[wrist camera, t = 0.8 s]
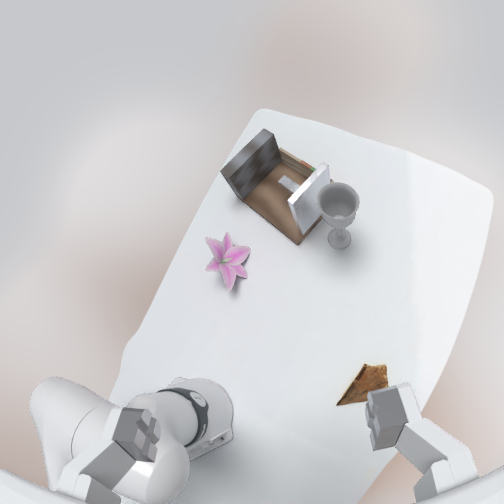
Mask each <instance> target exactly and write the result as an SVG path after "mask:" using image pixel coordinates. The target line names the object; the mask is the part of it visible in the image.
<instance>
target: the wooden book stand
mask: <svg viewBox="0 0 504 504" xmlns="http://www.w3.org/2000/svg"><path fill="white" fill-rule="evenodd" d="M315 170H316V169H315V168H313V167H312V166H310V165H309V164H307V163H306V162H304V161H302V160H300V159H298V158H296V157H295V156H293V155H292V154H290V153H288V152H287V151H285V150H283V149H282V148H278V145H277V142H276V139H275V137H274V134H273V133H271V132H269V131H268V130H266V129H263V130H262V131H261V132H260V133H259V134H257V135H256V136H255V137H254V138H253V139H252V140H251V141H250V142H249V143H248V144H247V145H246V146H245V147H244V148H243V149H242V150H241V151H240V152H239V153H238V154H237V155H236V156H235V157H234V158H233V159H232V160H231V161H230V162H229V163H228V164H227V165H226V166H225V167H224V168H223V169H222V170H221V171H220V172H221V173H222V175H223V176H224V178H225V179H226V181H227V182H228V184H229V185H230V187H231V188H232V190H233V191H234V193H235V194H236V196H237V197H238V198H239V199H241V200H242V201H243V202H245V203H246V204H247V205H248V206H250V207H251V208H252V209H253V210H255V211H256V212H257V213H258V214H260V215H261V216H262V217H263V218H265V219H266V220H267V221H269V222H270V223H271V224H272V225H274V226H275V227H276V228H277V229H278V230H280V231H281V232H282V233H283V234H285V235H286V236H287V237H288V238H290V239H291V240H292V241H293V242H295V243H296V244H297V245H299V244H300V243H301V242H302V240H303V239H304V238H305V237H306V236H307V235H308V234H309V233H310V232H311V230H312V229H313V228H314V227H315V226H316V225H317V224H318V223H319V221H320V220H321V219H322V218H323V217H322V215H321V216H320V217H319V218H318V219H317V220H316V221H315V223H314V224H313V225H312V226H311V227H310V228H309V229H308V230H307V232H306V233H305V234H304V235H302V234H301V233H299V231H298V228H297V226H296V223H295V220H294V217H293V214H292V212H291V209H290V206H289V203H288V201H287V200H288V199H289V198H290V197H291V196H292V195H291V194H290V193H288V192H287V191H286V190H284V189H283V188H281V187H280V186H279V183H278V181H279V180H280V179H281V178H282V177H283V176H284V175H285V176H287V177H288V178H289V179H291V180H292V181H294V182H295V183H297V184H298V185H300V186H301V185H302V184H303V183H304V182H305V181H306V180H307V179H308V178H309V177H310V176H311V174H312V173H313V172H314V171H315ZM330 183H335V182H333V180H332V179H330Z"/></svg>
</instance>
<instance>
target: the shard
mask: <svg viewBox="0 0 504 504" xmlns="http://www.w3.org/2000/svg"><path fill="white" fill-rule="evenodd" d="M387 387H388V380H387V367H386V365H379V366H370V365H367V364H364V366H363V368H362V369H361V371H360V372H359V373H358V375H357V377H356V378H355V379H354V381H353V382H352V384H351V385H350V386H349V388H348V389H347V390H346V392H345V393H344V395H343V396H342V398H341V400H340V401H339V402H338V403H337V405H343V404H348V403H353V402H362V401H368V398H367V395H368V392H370V391H374V390H378V389H382V388H387Z"/></svg>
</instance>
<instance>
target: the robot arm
mask: <svg viewBox="0 0 504 504" xmlns="http://www.w3.org/2000/svg"><path fill="white" fill-rule="evenodd" d="M367 398H368V402H367V403H366V408H365V413H366V421H367V426H368V427H369V428H371V433H370V439H371V444H372V448H373V451H375V450H380V449H384V448H389V447H393V446H395V448H396V449H397V450H398V451H399V452H400V453H401V454H403V455H404V456H405V457H406V458H407V459H408V460H409V461H410V462H411V463H412V464H413V465H414V466H415V467H416V468H417V469H418V470H419V471H420V472H422V473H423V474H424V475H423V476H422V478H421V479H420V480H419V481H418V482H417V484H416V485H415V486H414V493H415V497H416V502H417V503H413V504H504V466H502V467H500V468H498V469H496V470H494V471H492V472H490V473H488V474H486V475H484V476H482V477H480V478H479V475H478V472H477V469H476V466H475V463H474V460H473V457H472V454H471V451H470V449H469V448H468V447H467V446H465V445H464V444H463V443H461V442H460V441H458V440H457V439H456V438H454V437H453V436H451V435H450V434H449V433H447V432H446V431H444V430H443V429H441V428H440V427H439V426H437V425H436V424H435V423H433V422H432V421H430V420H429V419H428V418H422V415H421V412H420V409H419V406H418V404H417V401H416V398H415V396H414V393H413V390H412V388H411V385H410V384H409V383H403V384H400V385H396V386H391V387H387V388H382V389H378V390H374V391H370V392H368V395H367ZM29 409H30V414H31V418H32V420H33V422H34V425H35V427H36V430H37V433H38V436H39V440H40V444H41V448H42V453H43V458H44V463H45V468H46V473H47V480H48V489H47V488H45V487H42V486H40V485H37V484H35V483H33V482H31V481H29V480H27V479H24V478H22V477H20V476H18V475H16V474H14V473H12V472H10V471H8V470H5V469H0V504H120V503H121V498H120V496H119V495H117V494H116V493H118V494H120V495H122V496H125V497H127V498H129V499H132V500H134V501H137V502H140V503H143V504H166V503H168V502H170V501H172V500H173V499H175V498H176V497H177V496H178V495H179V494H180V493H181V492H182V491H183V490H184V488H185V486H186V485H187V482H188V480H189V475H190V461H191V460H193V459H195V458H197V457H199V456H201V455H203V454H205V453H207V452H209V451H211V450H213V449H215V448H217V447H219V446H221V445H223V444H225V443H227V442H229V441H231V440H232V438H233V432H232V428H231V423H232V418H233V407H232V403H231V400H230V398H229V396H228V395H227V393H226V392H225V391H224V389H223V388H222V387H220V386H219V385H218V384H216V383H215V382H213V381H210V380H207V379H192V380H188V379H184V378H180V377H178V378H175V379H174V380H173V381H172V383H171V384H168V385H166V386H164V389H162V390H160V391H158V392H156V393H149V394H142V395H138V396H136V397H135V398H133V399H132V400H131V401H130V402H129V403H128V405H127V406H126V407H119V406H117V405H115V404H112V403H111V402H109V401H107V400H105V399H104V398H102V397H101V396H99V395H97V394H96V393H94V392H93V391H91V390H89V389H88V388H86V387H85V386H83V385H80V384H77V383H75V382H72V381H69V380H66V379H63V378H60V377H51V378H48V379H46V380H44V381H43V382H41V383H40V384H39V385H38V386H37V387H36V388H35V390H34V391H33V394H32V396H31V399H30V404H29ZM222 437H223V438H224V440H222ZM112 490H113V491H114V492H116V493H114V492H112Z"/></svg>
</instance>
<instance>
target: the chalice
mask: <svg viewBox="0 0 504 504" xmlns="http://www.w3.org/2000/svg"><path fill="white" fill-rule="evenodd" d="M316 199H317V205H318V207H319V209H320V210H321V212H322V217H323V219H324V221H325V222H326V223H327V224H329V225H330V226H332V227H334V228H335V229H333V230H332V231H331V232H330V233H329V235H328V242H329V244H330V245H331V246H332V247H333V248H335V249H344V248H346V247H347V246H348V245H349V244H350V241H351V236H350V233H349V232H348V231H347V230H346V229H344V228H345V227H347V226H348V225H350V224H351V223H352V222H353V220H354V219H355V215H356V211H357V209H358V208H359V203H360V202H359V196H358V194H357V193H356V191H355V190H354V189H353V188H352V187H350V186H348V185H347V184H344V183H339V182H337V183H330V184H327V185H325V186H324V187H322V188H321V189H320V191H319V192H318V194H317V198H316Z"/></svg>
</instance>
